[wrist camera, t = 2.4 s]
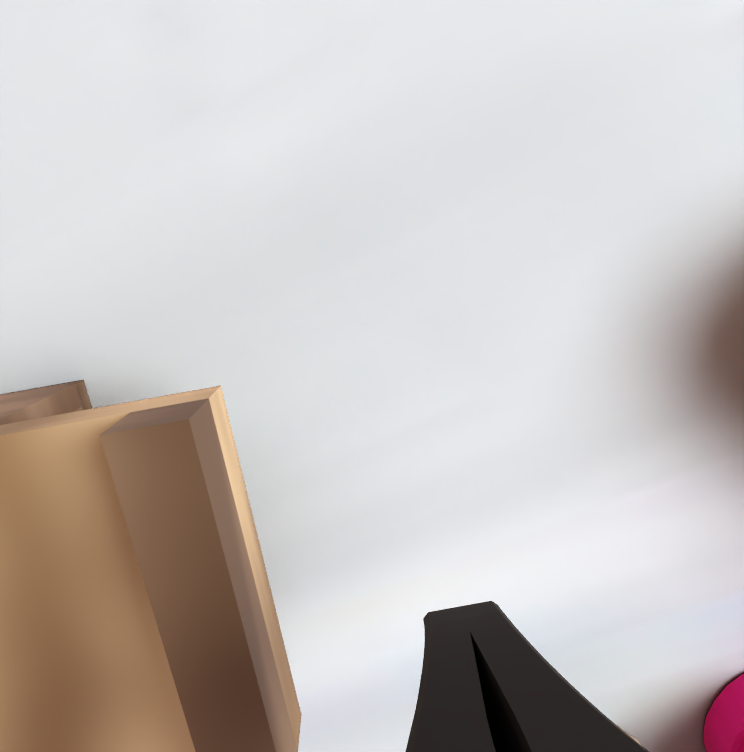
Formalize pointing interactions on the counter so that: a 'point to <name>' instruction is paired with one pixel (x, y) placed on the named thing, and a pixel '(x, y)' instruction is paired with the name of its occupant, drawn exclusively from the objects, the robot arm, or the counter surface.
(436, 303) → the counter surface
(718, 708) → the pepper mill
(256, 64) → the counter surface
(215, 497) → the lid
